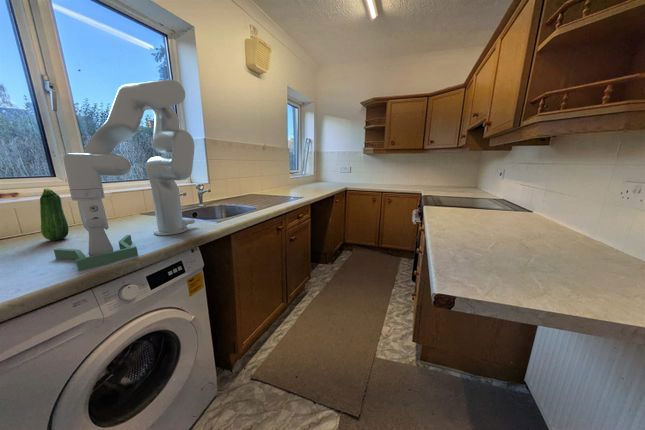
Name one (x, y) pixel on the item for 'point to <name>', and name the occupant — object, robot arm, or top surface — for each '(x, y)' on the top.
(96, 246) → the salt shaker
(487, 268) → the top surface
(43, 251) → the top surface
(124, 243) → the green angled channel piece
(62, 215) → the vegetable
